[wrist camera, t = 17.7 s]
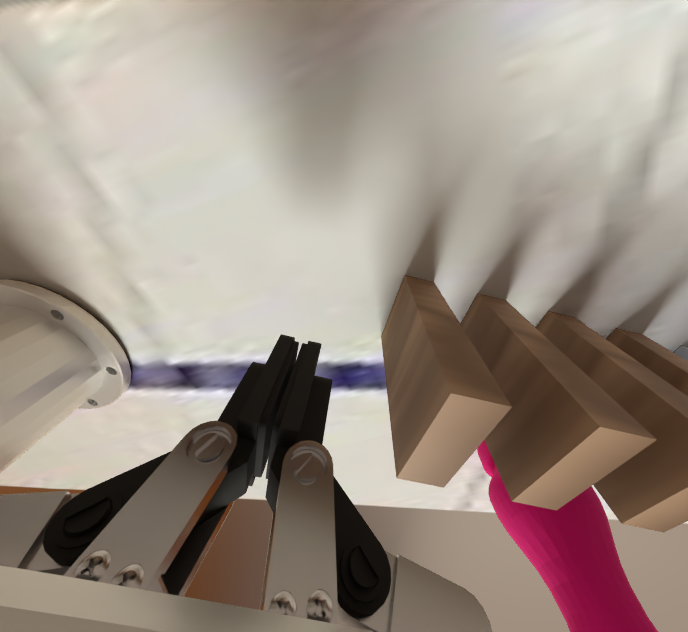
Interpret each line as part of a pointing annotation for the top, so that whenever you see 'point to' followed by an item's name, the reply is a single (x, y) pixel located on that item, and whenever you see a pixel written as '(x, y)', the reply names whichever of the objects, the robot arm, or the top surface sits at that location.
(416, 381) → the domino
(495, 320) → the domino
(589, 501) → the pepper mill
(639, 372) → the domino
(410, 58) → the top surface
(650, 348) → the domino
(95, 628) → the robot arm
